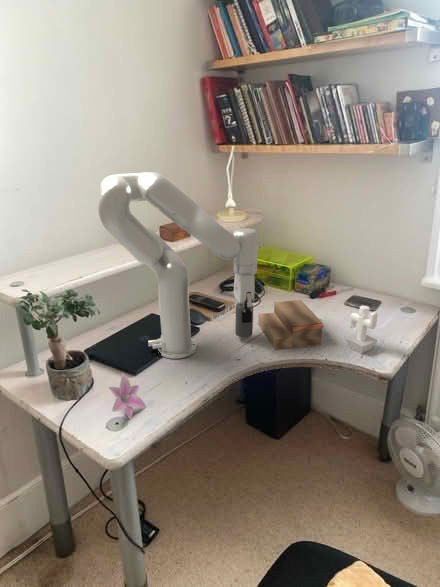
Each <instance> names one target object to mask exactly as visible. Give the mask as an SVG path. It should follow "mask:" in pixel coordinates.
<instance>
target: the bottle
mask: <svg viewBox="0 0 440 587" xmlns="http://www.w3.org/2000/svg"><path fill="white" fill-rule="evenodd" d="M236 301H237V300H236ZM245 302H247V301H245ZM245 302H244V303H245ZM246 306H247V304H245V307H246ZM242 311H243V303H242V304H239V303H238V301H237V303H236V304H235V327H234V328H235V331H234V332H235V335H236V337H238V338H250V337H252V335H253V329H254V325H253V323H254V305H253V304H252V322H249V323H242Z"/></svg>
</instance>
